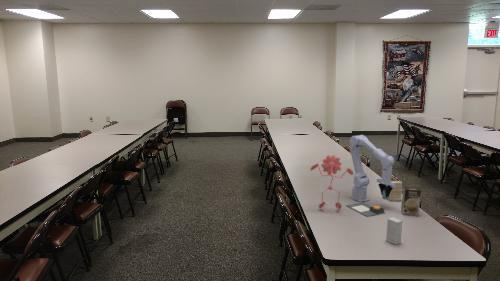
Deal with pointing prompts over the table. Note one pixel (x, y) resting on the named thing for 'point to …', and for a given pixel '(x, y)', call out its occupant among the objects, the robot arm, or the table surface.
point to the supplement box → (396, 192)
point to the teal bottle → (384, 194)
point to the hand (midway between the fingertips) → (385, 195)
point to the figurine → (331, 167)
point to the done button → (376, 207)
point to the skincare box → (394, 230)
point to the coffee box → (410, 201)
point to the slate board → (366, 209)
